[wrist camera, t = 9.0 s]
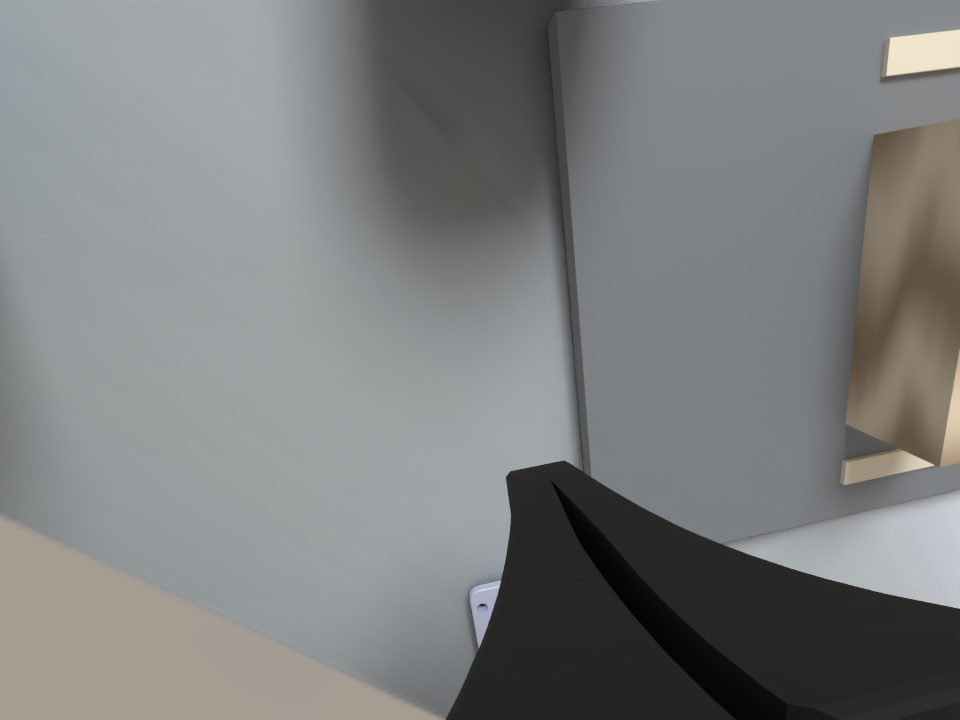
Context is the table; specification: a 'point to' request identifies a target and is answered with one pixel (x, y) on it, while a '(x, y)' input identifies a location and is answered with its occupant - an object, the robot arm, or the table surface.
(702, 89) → the board
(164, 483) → the table surface
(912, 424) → the t block
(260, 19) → the table surface
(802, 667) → the robot arm
